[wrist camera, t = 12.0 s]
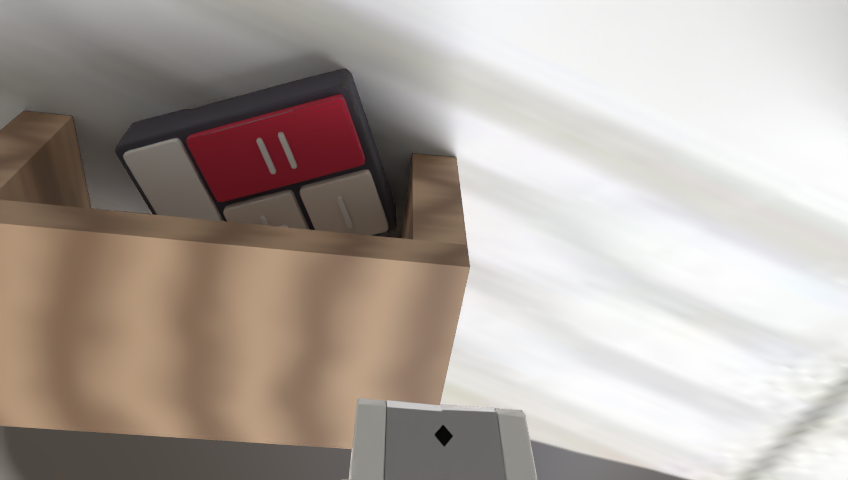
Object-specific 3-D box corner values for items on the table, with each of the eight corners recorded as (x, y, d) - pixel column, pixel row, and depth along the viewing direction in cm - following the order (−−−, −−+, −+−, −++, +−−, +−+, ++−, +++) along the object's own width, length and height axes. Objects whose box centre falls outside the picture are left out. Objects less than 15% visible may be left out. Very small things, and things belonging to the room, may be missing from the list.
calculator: (398, 237, 43) (190, 289, 45) (396, 203, 47) (203, 252, 48) (347, 87, 37) (107, 153, 38) (349, 61, 41) (128, 122, 42)
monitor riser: (456, 157, 44) (469, 267, 34) (425, 329, 53) (428, 453, 43) (23, 110, 41) (-97, 214, 31) (70, 299, 50) (-12, 424, 41)
